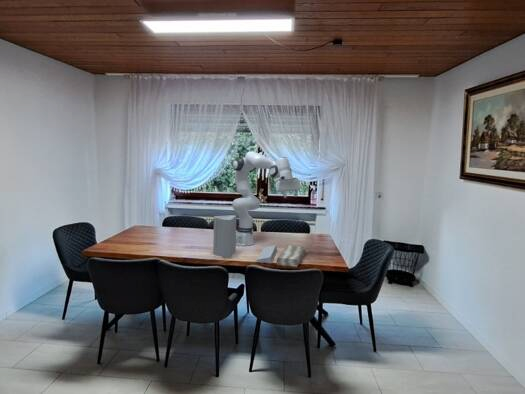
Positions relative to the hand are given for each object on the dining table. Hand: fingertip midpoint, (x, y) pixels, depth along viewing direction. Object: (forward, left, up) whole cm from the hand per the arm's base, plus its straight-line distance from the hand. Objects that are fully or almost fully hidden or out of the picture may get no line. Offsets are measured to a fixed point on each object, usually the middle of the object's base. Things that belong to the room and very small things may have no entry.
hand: (290, 196), depth 260 cm
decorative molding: (-16, +2, -46) cm, 49 cm away
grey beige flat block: (+2, +1, -45) cm, 46 cm away
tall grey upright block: (-49, -5, -46) cm, 67 cm away
